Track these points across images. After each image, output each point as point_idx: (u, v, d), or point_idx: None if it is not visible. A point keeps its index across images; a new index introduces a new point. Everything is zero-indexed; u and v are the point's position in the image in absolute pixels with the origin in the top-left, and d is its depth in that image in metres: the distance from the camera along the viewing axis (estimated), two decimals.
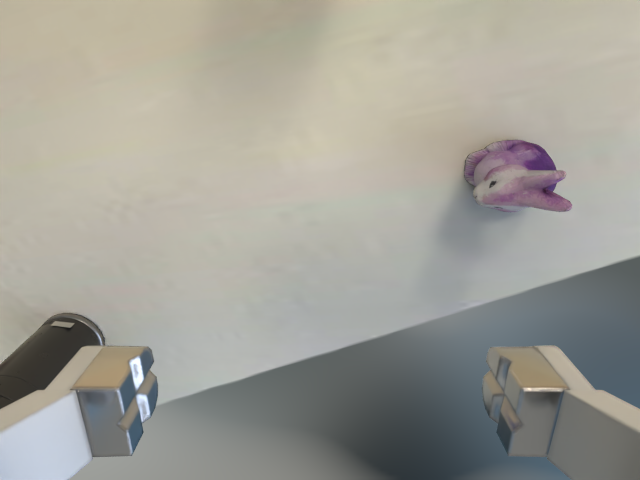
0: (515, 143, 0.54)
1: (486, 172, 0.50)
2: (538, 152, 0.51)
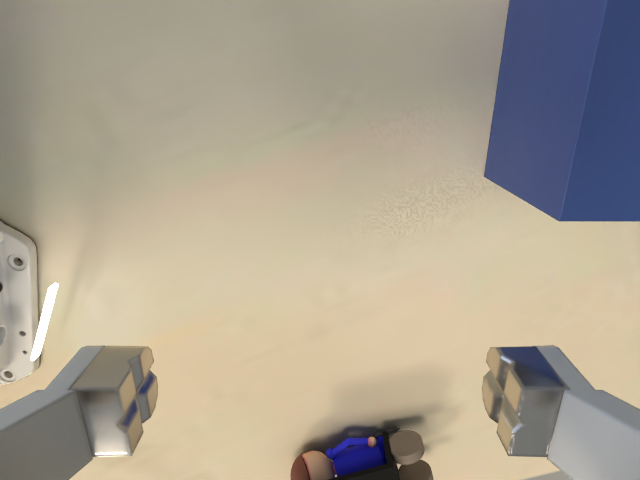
0: None
1: None
2: None
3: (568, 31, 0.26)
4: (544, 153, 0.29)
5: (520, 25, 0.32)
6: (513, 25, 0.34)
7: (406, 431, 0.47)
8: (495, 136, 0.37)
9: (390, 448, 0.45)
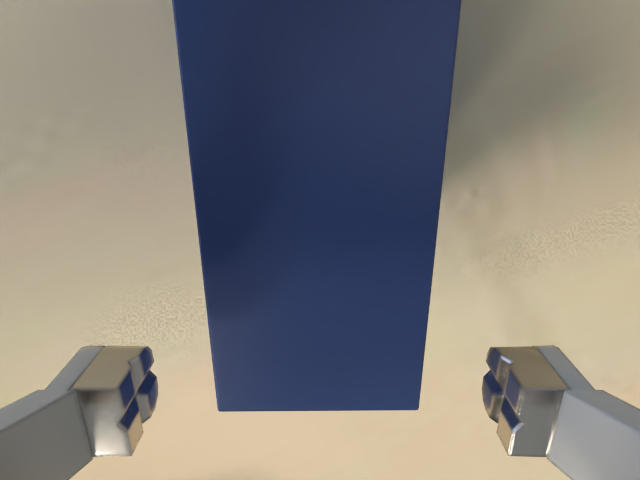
0: None
1: None
2: None
3: None
4: None
5: None
6: None
7: None
8: None
9: None
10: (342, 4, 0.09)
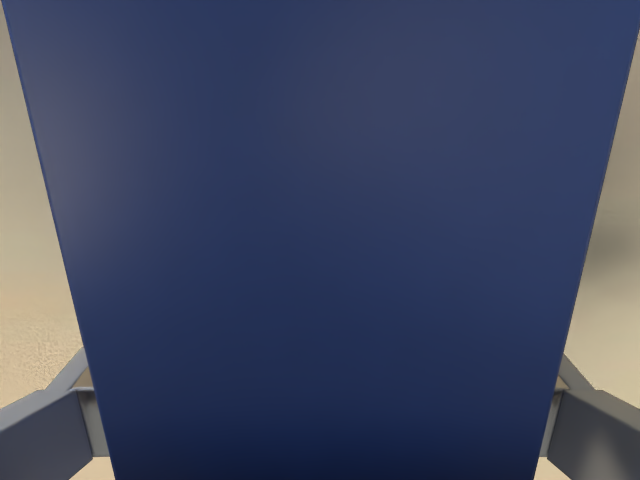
0: None
1: None
2: None
3: None
4: None
5: None
6: None
7: None
8: None
9: None
10: None
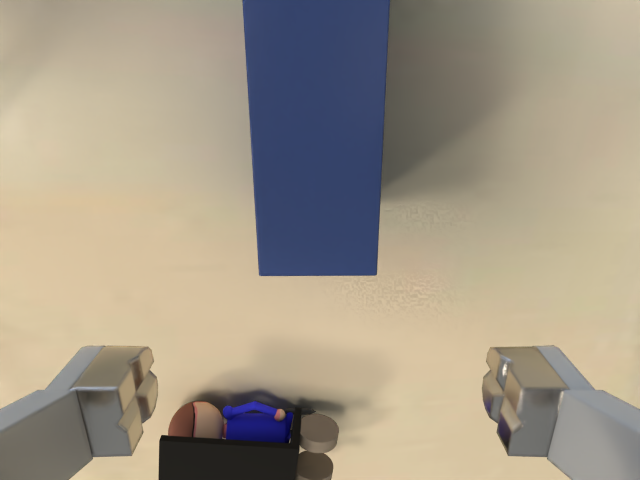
0: None
1: None
2: None
3: None
4: None
5: None
6: None
7: (323, 416, 0.39)
8: None
9: (300, 428, 0.38)
10: (329, 45, 0.19)
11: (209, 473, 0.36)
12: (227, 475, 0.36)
